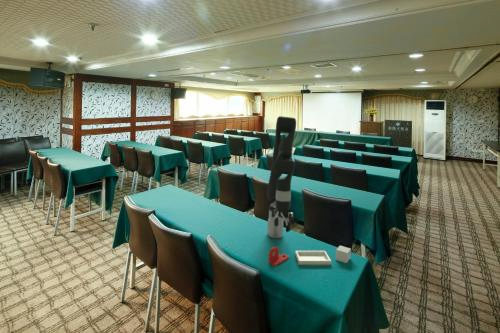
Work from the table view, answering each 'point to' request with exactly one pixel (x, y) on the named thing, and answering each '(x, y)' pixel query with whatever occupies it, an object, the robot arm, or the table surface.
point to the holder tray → (312, 258)
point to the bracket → (276, 257)
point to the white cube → (343, 254)
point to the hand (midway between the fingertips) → (282, 228)
